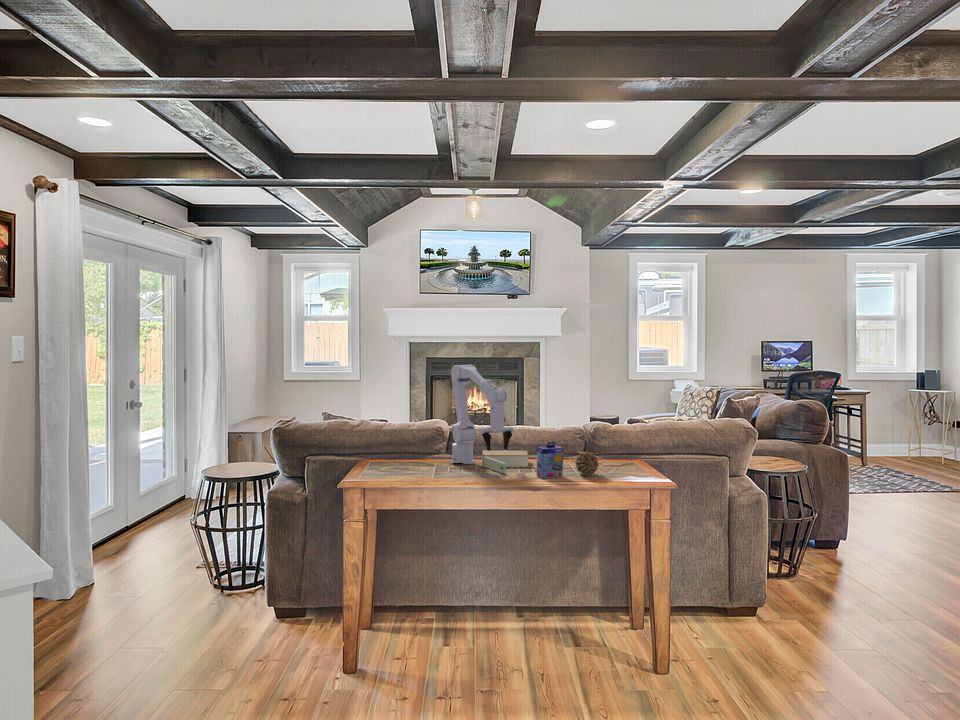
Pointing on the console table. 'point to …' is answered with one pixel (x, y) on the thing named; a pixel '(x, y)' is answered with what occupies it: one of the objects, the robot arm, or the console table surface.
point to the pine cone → (586, 463)
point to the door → (494, 464)
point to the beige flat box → (508, 457)
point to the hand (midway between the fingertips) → (497, 449)
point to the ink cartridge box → (549, 461)
